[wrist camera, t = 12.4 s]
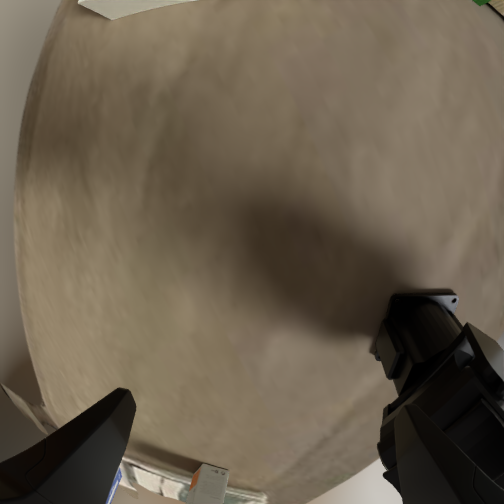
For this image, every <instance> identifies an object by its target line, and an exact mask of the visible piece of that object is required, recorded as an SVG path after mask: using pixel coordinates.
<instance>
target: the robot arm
mask: <svg viewBox="0 0 504 504" xmlns="http://www.w3.org/2000/svg"><path fill="white" fill-rule="evenodd" d="M397 299H399V300H398V301H397V302H395V300H397ZM452 299H454V300H453V301H452ZM458 301H459V297H458V296H457V295H456V294H455V293H424V294H394V295H393V296H392V297H391V299H390V302H389V306H388V310H387V314H386V317H385V319H384V320H383V321H382V324H381V328H380V331H379V335H378V338H377V341H376V351H375V359H376V360H377V361H381V362H382V365H383V368H384V371H385V374H386V377H387V378H388V379H389V380H393V381H394V384H395V387H396V390H397V393H398V396H399V397H398V398H397V399H396V400H395V401H394V402H392V403H391V404H388V405H387V406H386V407H385V408H384V409H383V419H382V426H381V428H380V442H378V444H377V449H378V453H379V456H380V459H381V461H382V464H383V466H384V467H385V469H386V470H387V471H386V472H384V473H383V477H384V478H385V479H386V480H387V481H388V482H390V483H391V484H392V485H393V486H394V487H395V488H396V490H397V491H398V492H399V493H400V495H401V497H402V501H403V504H504V350H503V349H502V348H501V347H500V345H499V344H498V343H497V342H496V341H495V340H493V339H492V338H491V337H489V336H488V335H486V334H485V333H483V332H482V331H480V330H479V329H477V328H476V327H474V326H473V325H471V324H470V323H468V322H467V323H466V324H465V325H464V327H463V326H462V324H461V323H460V322H459V320H458V319H457V318H456V316H455V315H454V312H455V309H456V306H457V304H458ZM135 412H136V403H135V401H134V398H133V396H132V394H131V391H130V390H128V389H125V388H117V389H115V390H114V391H112V392H111V393H110V394H108V395H107V396H105V397H104V398H103V399H101V400H100V401H98V402H97V403H95V404H94V405H93V406H91V407H90V408H88V409H87V410H85V411H84V412H83V413H81V414H80V415H78V416H77V417H75V418H74V419H72V420H71V421H69V422H68V423H67V424H65V425H64V426H62V427H61V428H59V429H58V430H56V431H55V432H53V433H52V434H50V435H49V436H47V437H46V438H44V439H43V440H41V441H40V442H38V443H37V444H35V445H33V446H32V447H30V448H28V449H27V450H25V451H23V452H21V453H19V454H17V455H15V456H13V457H11V458H9V459H7V460H5V461H2V462H1V463H0V504H106V501H107V498H108V496H109V493H110V490H111V487H112V484H113V482H114V479H115V476H116V473H117V471H118V468H119V465H120V463H121V460H122V457H123V455H124V452H125V449H126V446H127V443H128V440H129V436H130V432H131V428H132V424H133V420H134V416H135Z"/></svg>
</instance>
